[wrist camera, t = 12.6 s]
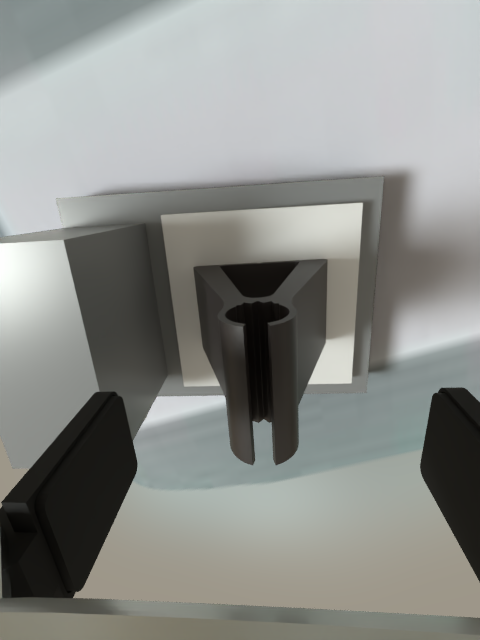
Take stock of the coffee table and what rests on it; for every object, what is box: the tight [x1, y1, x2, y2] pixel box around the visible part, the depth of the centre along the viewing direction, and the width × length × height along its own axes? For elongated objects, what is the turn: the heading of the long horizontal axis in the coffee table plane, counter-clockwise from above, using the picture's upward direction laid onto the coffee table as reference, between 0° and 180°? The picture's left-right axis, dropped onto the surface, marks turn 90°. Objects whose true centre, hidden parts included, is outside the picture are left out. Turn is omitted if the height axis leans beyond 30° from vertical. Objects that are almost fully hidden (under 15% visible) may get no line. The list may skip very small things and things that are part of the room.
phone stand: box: [193, 259, 328, 465], centre depth 18 cm, size 9×6×12 cm, turn 94°
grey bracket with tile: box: [0, 176, 384, 469], centre depth 21 cm, size 22×16×13 cm
